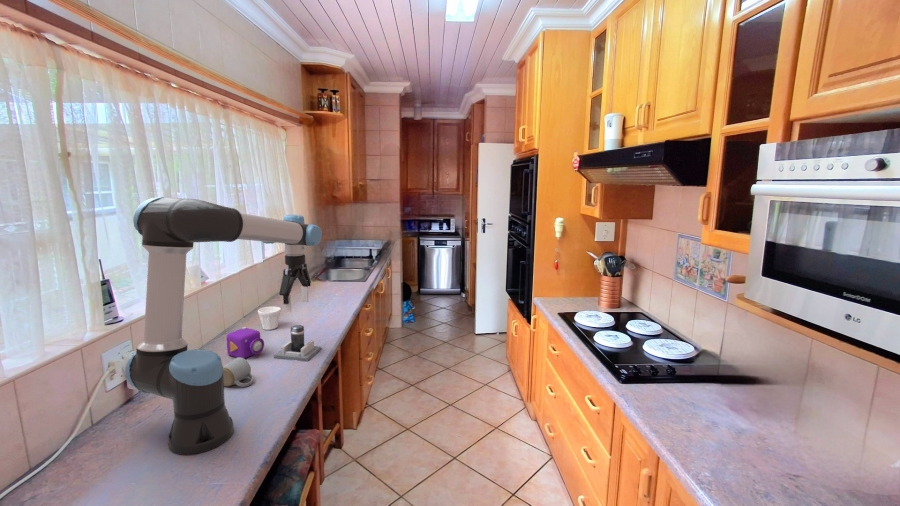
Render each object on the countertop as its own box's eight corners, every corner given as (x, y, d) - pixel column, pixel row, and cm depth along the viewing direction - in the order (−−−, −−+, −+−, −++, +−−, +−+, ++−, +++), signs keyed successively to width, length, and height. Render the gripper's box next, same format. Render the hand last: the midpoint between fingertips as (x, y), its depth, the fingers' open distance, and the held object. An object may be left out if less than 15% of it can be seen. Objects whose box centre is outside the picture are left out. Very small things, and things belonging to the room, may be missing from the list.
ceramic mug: (215, 386, 138) (214, 364, 137) (234, 375, 146) (233, 355, 145) (242, 391, 136) (241, 370, 134) (259, 380, 143) (258, 359, 142)
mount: (307, 361, 159) (307, 351, 158) (274, 358, 161) (273, 348, 160) (321, 349, 171) (320, 339, 170) (289, 346, 173) (289, 337, 172)
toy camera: (253, 362, 157) (252, 337, 155) (223, 358, 160) (221, 334, 158) (271, 351, 167) (270, 328, 166) (242, 347, 170) (240, 324, 168)
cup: (281, 330, 190) (280, 311, 189) (257, 332, 186) (257, 313, 185) (281, 323, 199) (281, 305, 198) (259, 325, 196) (258, 307, 194)
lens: (307, 350, 166) (306, 326, 164) (295, 354, 162) (294, 330, 160) (300, 347, 169) (299, 323, 167) (288, 350, 165) (287, 326, 163)
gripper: (287, 260, 146) (288, 316, 150) (318, 250, 171) (319, 298, 174) (267, 259, 147) (270, 315, 151) (301, 249, 172) (303, 297, 175)
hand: (296, 306), depth 162 cm, fingers open, 13 cm apart
